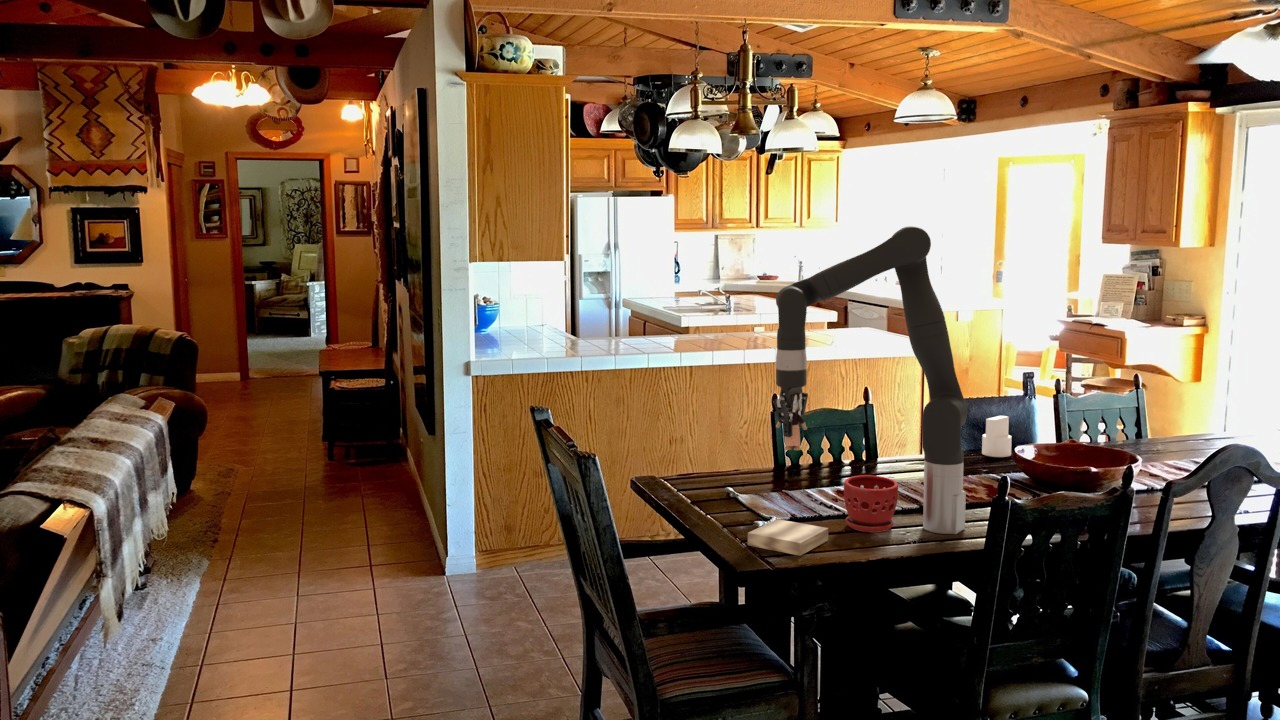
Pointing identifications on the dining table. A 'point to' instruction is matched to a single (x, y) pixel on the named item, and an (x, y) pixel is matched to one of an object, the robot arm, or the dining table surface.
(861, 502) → the plant pot
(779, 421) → the grandmother figurine
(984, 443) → the base with upright slab
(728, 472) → the dining table surface
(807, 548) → the birch platform
